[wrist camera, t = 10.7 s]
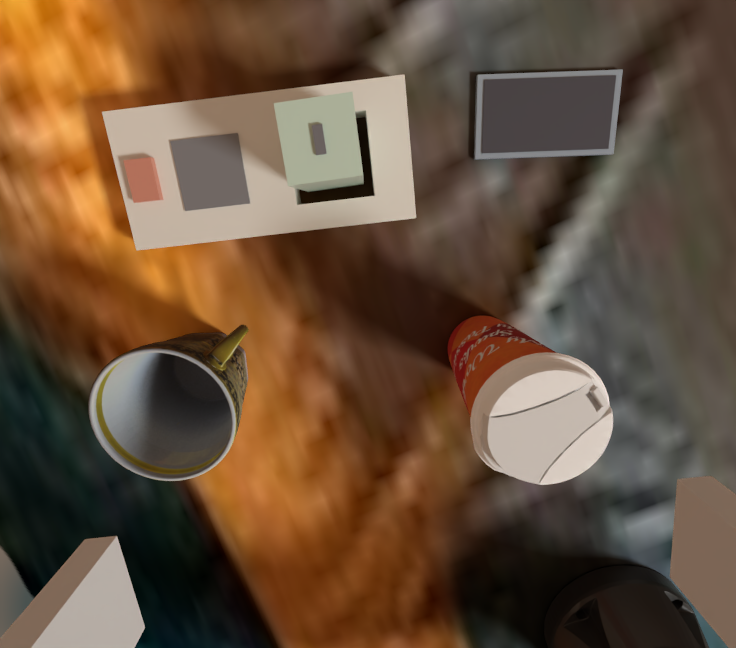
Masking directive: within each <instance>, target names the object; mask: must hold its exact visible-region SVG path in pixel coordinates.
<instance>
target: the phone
mask: <svg viewBox="0 0 736 648" xmlns="http://www.w3.org/2000/svg"><path fill="white" fill-rule="evenodd" d="M622 72H623V69H622V70H594V71H566V72H538V73H510V74H482V75H477V76H476V99H475V136H474V160H478V159H505V158H533V157H560V156H588V155H612V154H614V145H615V136H616V127H617V118H618V109H619V99H620V90H621V81H622Z"/></svg>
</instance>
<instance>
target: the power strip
mask: <svg viewBox="0 0 736 648" xmlns="http://www.w3.org/2000/svg"><path fill="white" fill-rule="evenodd" d="M346 92H353V100H354V107H355V115H356V118H363V117H366V125H367V134H368V144H369V153H370V163H371V172H372V182H373V191H374V196H368V197H360V198H351V199H343V200H334V201H326V202H317V203H309V204H301V199H300V192H299V189H297V188H293V187H290V186H288V183H287V177H286V171H285V166H284V160H283V154H282V148H281V143H280V137H279V131H278V126H277V120H276V114H275V108H274V103H279V102H285V101H292V100H299V99H306V98H312V97H319V96H326V95H333V94H339V93H346ZM102 115H103V119H104V123H105V127H106V131H107V135H108V139H109V143H110V147H111V151H112V155H113V159H114V163H115V167H116V171H117V175H118V179H119V183H120V187H121V191H122V195H123V199H124V203H125V207H126V211H127V215H128V219H129V223H130V227H131V231H132V235H133V239H134V243H135V247H136V251H137V250H145V249H154V248H163V247H171V246H180V245H188V244H197V243H206V242H214V241H223V240H231V239H240V238H249V237H257V236H266V235H274V234H283V233H291V232H300V231H309V230H317V229H326V228H334V227H343V226H352V225H360V224H369V223H377V222H386V221H395V220H403V219H412V218H416V210H415V197H414V185H413V173H412V160H411V148H410V136H409V124H408V111H407V99H406V87H405V75H396V76H388V77H380V78H372V79H364V80H356V81H347V82H339V83H331V84H323V85H315V86H307V87H299V88H291V89H282V90H274V91H266V92H258V93H250V94H242V95H234V96H226V97H217V98H209V99H201V100H193V101H185V102H177V103H169V104H161V105H153V106H144V107H136V108H128V109H120V110H112V111H104V112H102Z"/></svg>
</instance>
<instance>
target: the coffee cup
mask: <svg viewBox="0 0 736 648" xmlns="http://www.w3.org/2000/svg"><path fill="white" fill-rule="evenodd" d="M448 357H449V361H450V364H451V367H452V370H453V372H454V375H455V378H456V381H457V383H458V386H459V389H460V391H461V394H462V396H463V399H464V402H465V404H466V407H467V409H468V412H469V415H470V417H471V419H470V420H471V432H472V437H473V443H474V449H475V450H476V452H477V454H478V455H479V457H480V458H481V459H482V460H483V461H484V462H485V463H486V464H487V465H488V466H489V467H491V468H492V469H493V470H496V471H499V472H502V473H505V474H507V475H509V476H513V477H515V478H517V479H520V480H523V481H526V482H530V483H535V484H539V485H546V484H555V483H560V482H563V481H566V480H569V479H572V478H574V477H576V476H578V475H580V474H581V473H583V472H584V471H586V470H587V469H588V468H590V467H591V466H592V465H593V464H594V463H595V462H596V461H597V460H598V458H599V457H600V456H601V455H602V453H603V452H604V450H605V448H606V447H607V445H608V442H609V440H610V437H611V433H612V429H613V413H612V409H611V407H610V405H609V397H608V394H607V391H606V388H605V386H604V384H603V382H602V380H601V379H600V377H599V376H598V375H597V374H596V372H595V371H594V370H592V369H591V368H590V367H589V366H588V365H587V364H585V363H583V362H582V361H580V360H578V359H576V358H573V357H571V356H568V355H564V354H560V353H556V352H554V351H553V350H551V349H549V348H547V347H546V346H544V345H542V344H541V343H539V342H537V341H536V340H534V339H532V338H531V337H529V336H527V335H526V334H524V333H522V332H521V331H519V330H517V329H516V328H514V327H512V326H510V325H509V324H507V323H505V322H503V321H501V320H499V319H497V318H494V317H491V316H484V315H481V316H474V317H471V318H468V319H466V320H464V321H463V322H461V323H460V324H459V325H458V326H457V327H456V328H455V329H454V331H453V332H452V334H451V336H450V338H449V341H448Z"/></svg>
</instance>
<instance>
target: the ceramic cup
mask: <svg viewBox="0 0 736 648" xmlns="http://www.w3.org/2000/svg"><path fill="white" fill-rule="evenodd" d="M247 332H248V328H247V327H246V326H245V325H240V326H239V327H238V328H237V329H236V330H234V331H233V332H232V333H230V334H229V335H228V336H227V335H226V334H224V333H192V334H188V335H184V336H181V337H178V338H174V339H170V340H167V341H163V342H156V343H152V344H148V345H145V346H141V347H138V348H136V349H133V350H131V351H128V352H126V353H124V354H122V355H120V356H118V357H116V358H115V359H113V360H112V361H111V362H109V363H108V364H107V365H106V366H105V367H104V368H103V369H102V370H101V372H100V373H99V374H98V376H97V378H96V379H95V381H94V383H93V386H92V388H91V391H90V395H89V417H90V422H91V426H92V428H93V431H94V433H95V436H96V437H97V439H98V441H99V442H100V444H101V445H102V447H103V448H104V449H105V450H106V452H107V453H108V454H109V455H110V456H111V457H112V458H113V459H114V460H115V461H117V462H118V463H119V464H121V465H122V466H124V467H125V468H127V469H129V470H130V471H132V472H134V473H136V474H139V475H141V476H144V477H148V478H151V479H156V480H164V481H179V480H185V479H190V478H193V477H197V476H199V475H201V474H204V473H205V472H207V471H209V470H211V469H212V468H213V467H215V466H216V465H217V464H218V463H219V462H220V461H221V460H222V459H223V458H224V457H225V456H226V454H227V453H228V451H229V450H230V448H231V446H232V444H233V441H234V438H235V436H236V433H237V430H238V427H239V422H240V418H241V413H242V404H243V401H244V396H245V391H246V387H247V382H248V373H247V364H246V355H245V351H244V349H242V348H241V347H240V346H239V343H240V342H241V340H242V339H243V337H244V336H245V334H246V333H247Z"/></svg>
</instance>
